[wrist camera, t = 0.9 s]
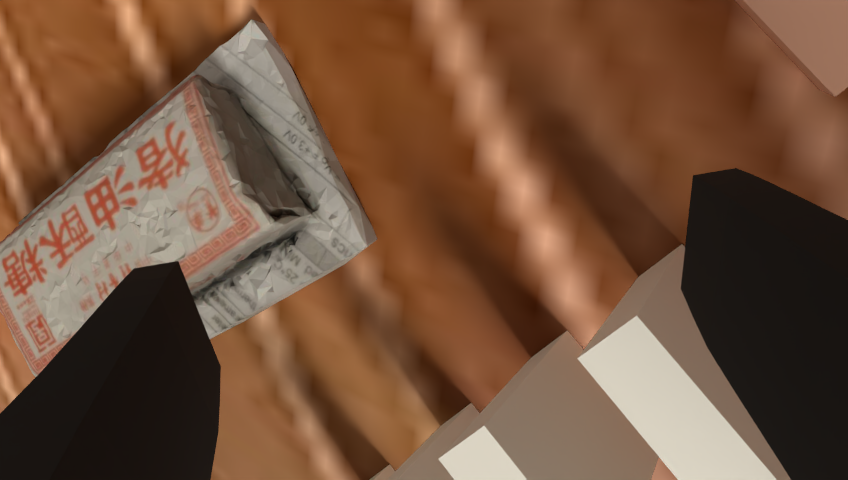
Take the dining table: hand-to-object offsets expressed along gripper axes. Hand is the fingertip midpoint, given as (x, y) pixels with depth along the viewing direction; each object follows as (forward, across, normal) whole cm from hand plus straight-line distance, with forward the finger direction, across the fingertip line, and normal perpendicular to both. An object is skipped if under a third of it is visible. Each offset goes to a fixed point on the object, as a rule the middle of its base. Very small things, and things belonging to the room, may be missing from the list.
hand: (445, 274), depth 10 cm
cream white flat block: (+8, -9, +10) cm, 16 cm away
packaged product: (+20, +10, +11) cm, 25 cm away
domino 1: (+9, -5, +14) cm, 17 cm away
